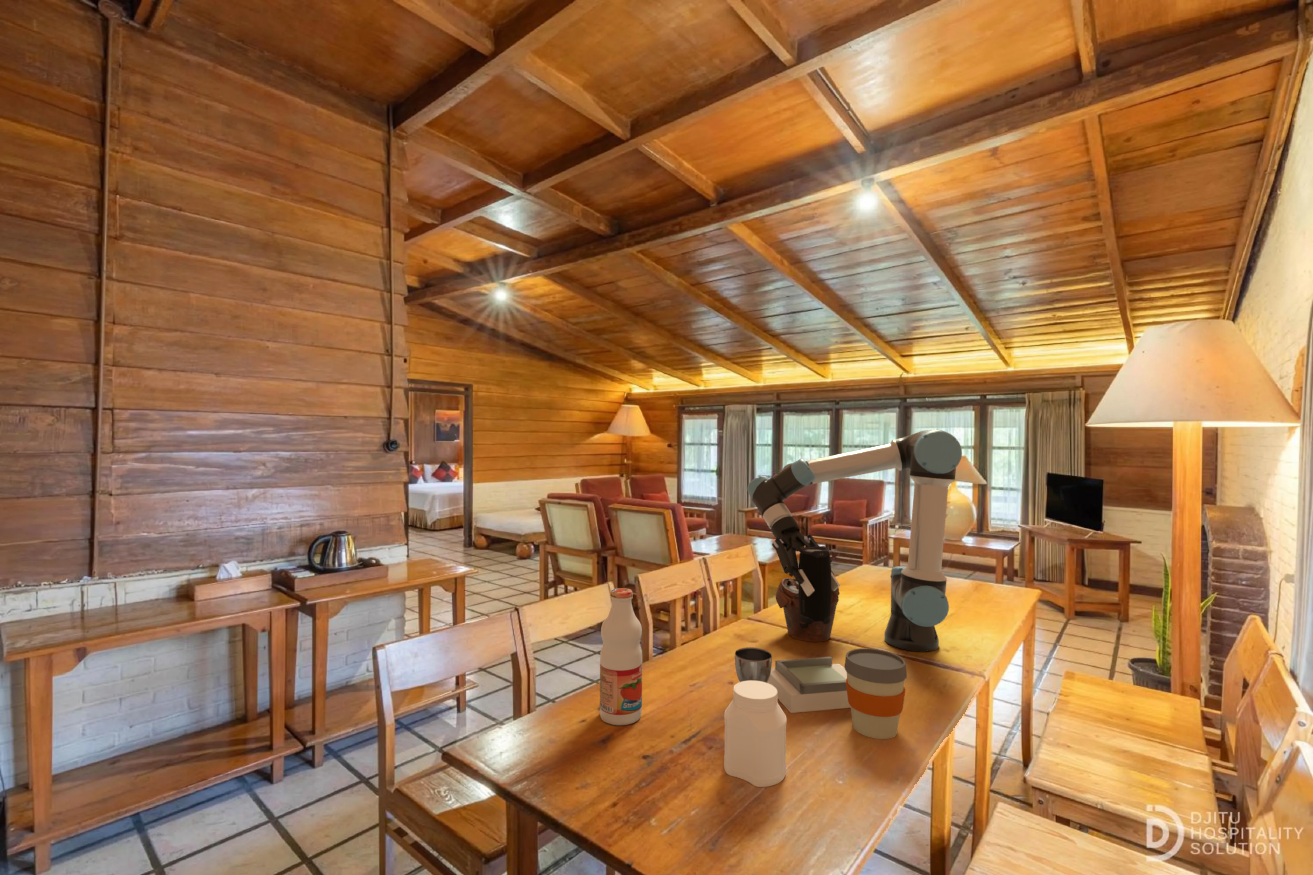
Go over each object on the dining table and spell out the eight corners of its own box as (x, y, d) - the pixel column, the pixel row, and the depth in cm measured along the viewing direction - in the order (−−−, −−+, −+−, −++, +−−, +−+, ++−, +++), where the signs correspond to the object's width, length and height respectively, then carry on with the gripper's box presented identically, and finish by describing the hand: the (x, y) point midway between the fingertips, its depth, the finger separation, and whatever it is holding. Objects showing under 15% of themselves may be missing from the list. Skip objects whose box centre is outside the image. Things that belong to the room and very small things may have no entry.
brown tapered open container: (767, 626, 192) (769, 571, 191) (826, 624, 194) (827, 571, 193) (785, 646, 174) (787, 587, 173) (850, 645, 176) (851, 586, 176)
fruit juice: (610, 703, 136) (611, 583, 136) (648, 710, 133) (648, 587, 132) (592, 722, 127) (593, 593, 127) (632, 729, 124) (633, 598, 124)
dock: (856, 677, 151) (856, 654, 151) (890, 703, 137) (890, 678, 137) (765, 684, 146) (765, 661, 146) (790, 712, 132) (791, 686, 132)
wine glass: (773, 716, 130) (774, 649, 130) (768, 734, 122) (769, 662, 122) (738, 711, 132) (738, 645, 132) (731, 727, 125) (731, 657, 125)
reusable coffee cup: (908, 748, 117) (908, 673, 117) (842, 736, 121) (843, 664, 121) (904, 719, 129) (905, 652, 129) (845, 710, 133) (845, 644, 133)
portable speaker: (821, 614, 162) (821, 544, 162) (837, 625, 153) (837, 550, 153) (792, 616, 161) (792, 545, 161) (807, 627, 152) (807, 552, 152)
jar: (794, 768, 110) (794, 689, 110) (770, 792, 102) (771, 707, 102) (740, 748, 117) (741, 673, 117) (715, 769, 109) (715, 689, 109)
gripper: (802, 527, 176) (844, 592, 162) (746, 534, 165) (786, 604, 151) (815, 512, 171) (859, 577, 158) (759, 517, 160) (801, 588, 146)
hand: (824, 590), depth 154 cm, fingers closed on portable speaker, 9 cm apart
